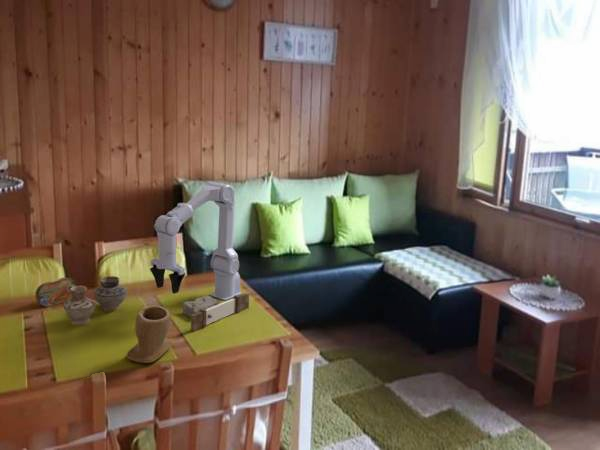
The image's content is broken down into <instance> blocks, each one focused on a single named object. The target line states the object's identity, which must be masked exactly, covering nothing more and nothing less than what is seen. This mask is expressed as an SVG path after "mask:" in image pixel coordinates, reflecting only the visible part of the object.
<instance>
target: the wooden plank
mask: <svg viewBox="0 0 600 450" xmlns="http://www.w3.org/2000/svg"><path fill="white" fill-rule="evenodd" d="M233 298H236V312H235V313H236V314H239V313H240V312H242V311H245V310H247V309H249V307H250V293H248V292H244V293H242V294H240V295H235V296H234V297H233ZM206 328H207V325H206V310H204V309H200V310H199V312H197V313H194V314H192V315H191V317H190V331H191V332H197V331H200V330H202V329H206Z"/></svg>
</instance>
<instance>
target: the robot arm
mask: <svg viewBox="0 0 600 450" xmlns="http://www.w3.org/2000/svg"><path fill="white" fill-rule="evenodd" d="M208 202H213V203H215V204H216V205H217V206H218V208H219V212H218V233H217V248H216V249H215V250H213V251H212V256H211V260H210V267H211V269H212V270H213V273H214V292H212V293H209V296H210V297H212V298H213V297H214V298H217V299H219V300H223V301H228V300H231V299H233V298H234V296H235V295H238V296H239V295H241V294H243V292H241V275H240V273H239V268H240V262H239V255H238V253H237V252H236V251H235V249H234V248H233V246H234V245H233V243H234V241H233V240H234V224H235V222H234V221H235V203H236V202H235V188H233V186H231V185H230V184H225V183H220V182H214V181H211V180H209V181H207V182H206V183H205V184H203V185H202V186H201V189H200V190H199V191H198V192H197V193H196V194H195V195H194V196H193V197H191V198H190V200H188V201H187V202H186V203H185V202H178V203H177V204H176V205H177V206H175V207H174V208H172V209H171V210H170V211H167V214H165V215H160V216H159V217H157V218H156V219H155V221H154V224H153V227H154V230H155V231H156V236H157V238H158V239H157V240H158V258H153V259H150V266H152V267H150V269H149V271H150V272H151V274H152V276H153V278H154V281H155V284H156V288H157V289H159V288H163V287H164V284H165V283H164V282H165V273H166V271H170V272H173V273H169V274H168V278H169V280H170V282H171V283H170V284H171V292H172V294H173V295H174V294H178V293H179V291H180V287H181V284H182V281H183V279H185V278H184V277H185V276H186V271H185V270H186V269H185V267H182V266H181V265H180V264H178V263H177V234H178V233H179V231H180V228H181V227H182V225H183V224H184V223H185V222H187V221H188V220H189V219H191V218H192V216H193V214H194V213H193V212H194V211H195V210H197V209H199V208H200V207H201V206H203V205H205V204H206V203H208Z"/></svg>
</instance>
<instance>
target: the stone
mask: <svg viewBox="0 0 600 450" xmlns="http://www.w3.org/2000/svg"><path fill="white" fill-rule="evenodd" d="M218 304H221V303H220V302H219V300H218V299H215V298H213V297H212V296H211V295H203V296H201V297H197V298H195V300H193V301H192V300H191V301H190V300H189V301H183V303H182V314H183V315H186V316H188V317H190V318H191V315H192V314H194V313H197V312H199V310H200V309H204V310H206V309H208V308H211V307H213V306H216V305H218Z"/></svg>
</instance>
